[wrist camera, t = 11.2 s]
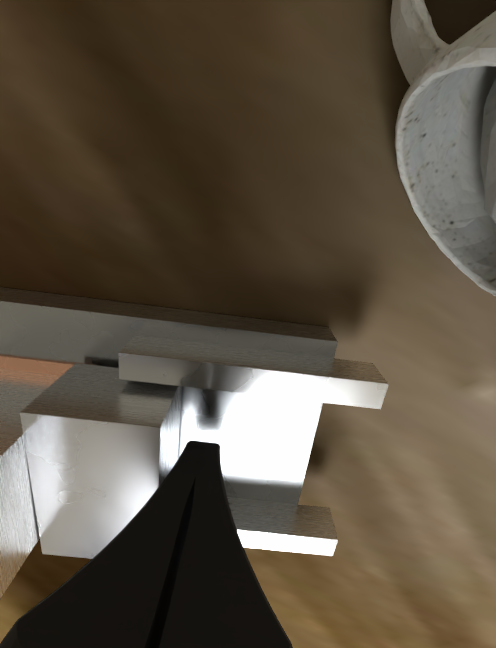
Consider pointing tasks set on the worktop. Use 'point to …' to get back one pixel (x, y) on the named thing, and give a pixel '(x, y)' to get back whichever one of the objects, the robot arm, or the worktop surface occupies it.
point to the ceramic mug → (449, 136)
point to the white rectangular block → (16, 472)
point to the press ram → (97, 454)
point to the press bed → (211, 392)
